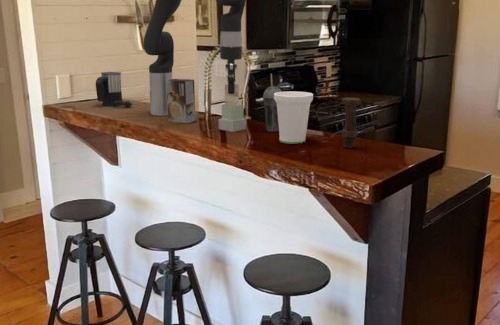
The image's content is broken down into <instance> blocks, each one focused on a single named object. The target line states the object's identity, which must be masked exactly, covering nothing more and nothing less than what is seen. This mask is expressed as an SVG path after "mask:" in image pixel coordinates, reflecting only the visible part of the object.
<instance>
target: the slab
mask: <svg viewBox="0 0 500 325" xmlns="http://www.w3.org/2000/svg"><path fill="white" fill-rule="evenodd" d="M246 129H247V118H244V117H243V119H240V120H233V121H230V120H226V119H222V117H221V118H218V130H221V131H226V132H230V133H231V132H232V133H233V132H239V131H244V130H246Z"/></svg>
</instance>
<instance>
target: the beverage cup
mask: <svg viewBox="0 0 500 325" xmlns="http://www.w3.org/2000/svg"><path fill="white" fill-rule="evenodd" d="M269 75H270V86H268V87H266V89H265V90H264V92H263V94H262V99H263V106H264V107H263V108H264V118H265V128H266V131H267V132H271V133H273V132H279V124H278V113H277V103H276V102H275V100H274V93H277V92H283V91H282V90H281V88H280V87H278V86H275V85H273V73H270V74H269Z"/></svg>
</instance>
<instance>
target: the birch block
mask: <svg viewBox="0 0 500 325" xmlns="http://www.w3.org/2000/svg"><path fill="white" fill-rule="evenodd" d="M239 91H240V90H239V84H238V83H237V84H236V83H235V93H234V94H229V93H228V83H225V84H224V104H225V106H239V103H240V102H239V101H240V100H239V99H240V98H239V97H240V96H239Z"/></svg>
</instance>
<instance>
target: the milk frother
mask: <svg viewBox="0 0 500 325" xmlns="http://www.w3.org/2000/svg"><path fill="white" fill-rule="evenodd" d="M100 74H101V76H99V77H97V78H96V80H95V91H96V99H97V101H98V102H101V103H102V106H105V107H118V106H124V107H126V108H130V106H131V107H132V106H133V103H132V102H130V100H129V101H124V100H123V94H122V91H123V90H122V78H121V76H122V72H120V71H107V72H106V71H103V72H100Z"/></svg>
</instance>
